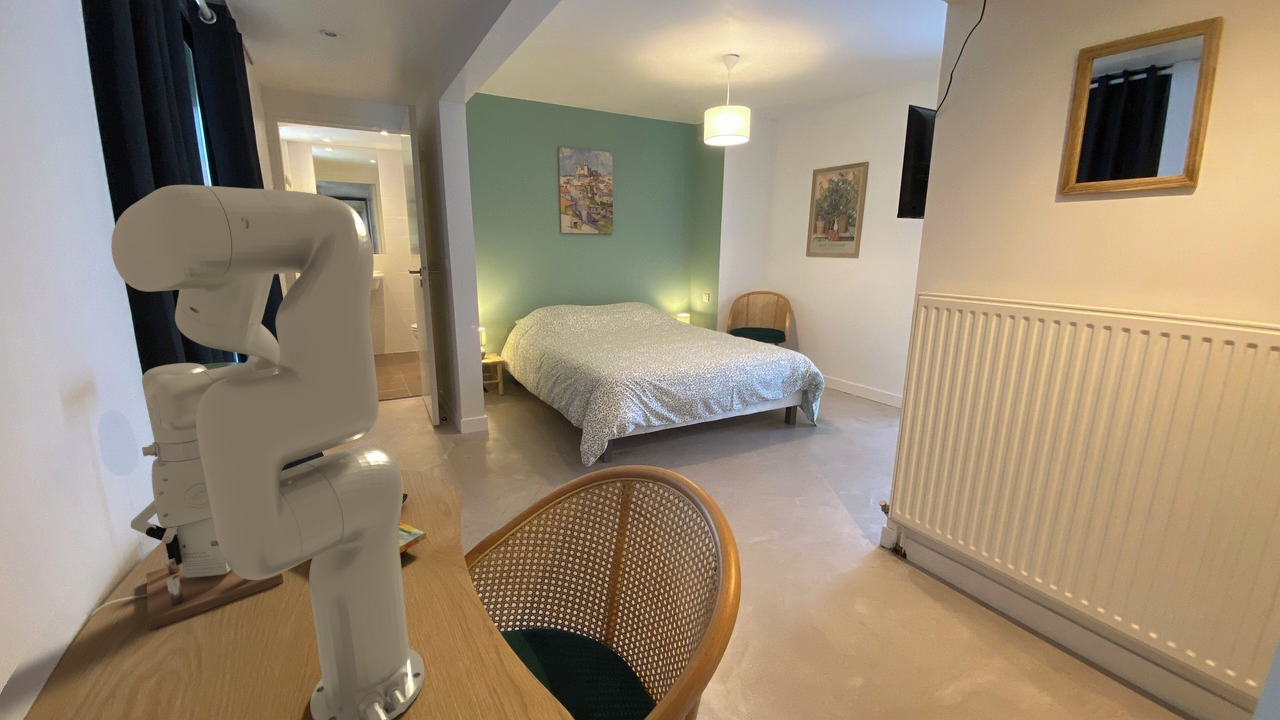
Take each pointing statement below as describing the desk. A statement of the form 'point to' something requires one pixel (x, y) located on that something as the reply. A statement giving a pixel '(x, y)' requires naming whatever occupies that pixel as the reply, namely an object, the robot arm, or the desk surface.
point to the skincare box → (201, 550)
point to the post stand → (194, 592)
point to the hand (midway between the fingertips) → (210, 550)
